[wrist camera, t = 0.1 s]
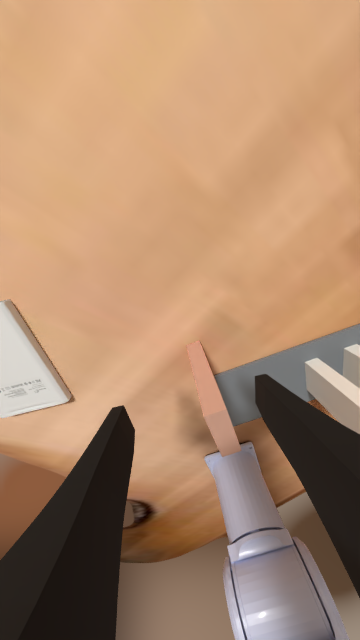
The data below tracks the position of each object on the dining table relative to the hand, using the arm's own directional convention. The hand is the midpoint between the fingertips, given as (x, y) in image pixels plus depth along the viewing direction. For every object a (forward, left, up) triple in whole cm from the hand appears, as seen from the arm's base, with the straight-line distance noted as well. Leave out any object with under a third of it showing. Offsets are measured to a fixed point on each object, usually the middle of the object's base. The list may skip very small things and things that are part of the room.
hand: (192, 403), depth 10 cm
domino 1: (-5, -1, -10) cm, 11 cm away
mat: (-13, -18, -10) cm, 24 cm away
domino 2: (-13, -14, -10) cm, 21 cm away
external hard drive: (+3, +18, -11) cm, 21 cm away
